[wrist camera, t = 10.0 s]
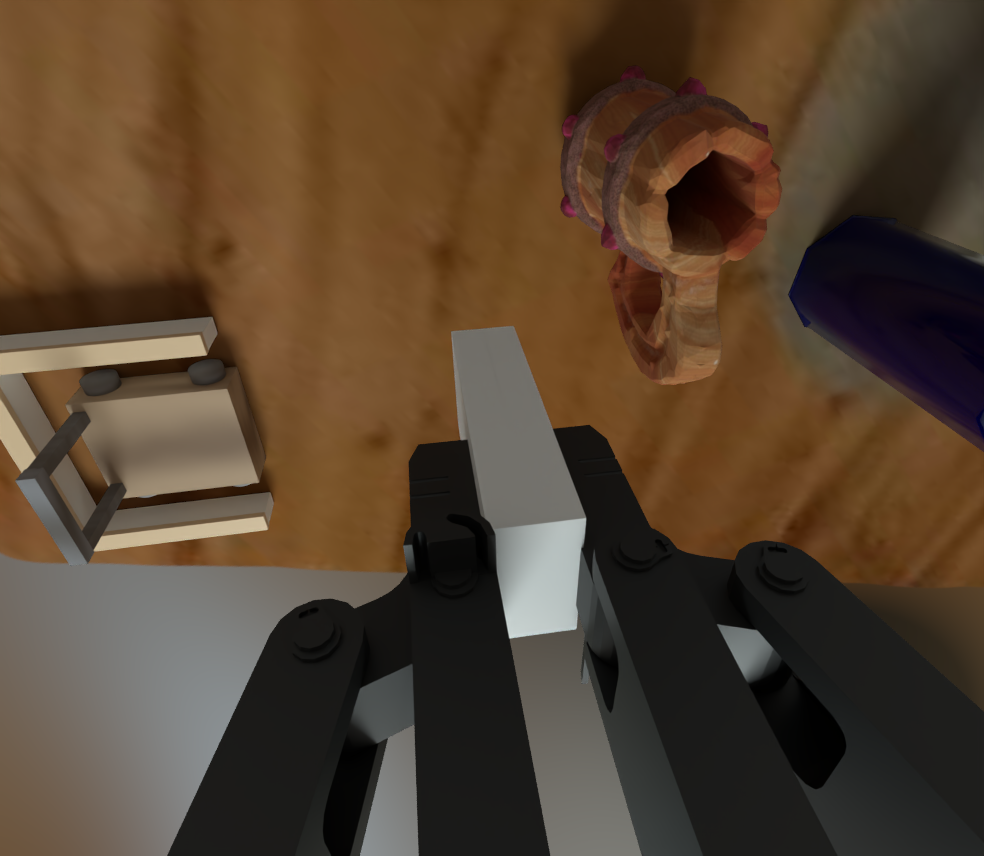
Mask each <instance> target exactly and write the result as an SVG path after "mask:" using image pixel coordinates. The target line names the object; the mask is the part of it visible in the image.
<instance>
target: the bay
mask: <svg viewBox="0 0 984 856" xmlns="http://www.w3.org/2000/svg"><path fill="white" fill-rule="evenodd" d="M217 334H218V332H217V329H216V326H215V323H214V320H213V317H205V318H193V319H182V320H171V321H160V322H149V323H137V324H126V325H115V326H104V327H93V328H81V329H70V330H59V331H48V332H37V333H25V334H14V335H3V336H0V439H1V441H2V442H3V444H4V446H5V447H6V449H7V450H8V452H9V454H10V455H11V457H12V458H13V460H14V461H15V463H16V465H17V466H18V468H19V469H20V471H21V472H23V471H24V470H25V469H27V468H28V467H29V466H30V464H31V463H32V462H33V461H34V459H35V458H36V457H37V456H38V454H39V453H40V452H41V451H42V450H43V448H44V447H45V446H46V445H47V443H48V442H49V441H50V440H51V439H52V437H53V436H54V435H55V434H56V433H55V431H54V429H53V428H52V426H51V424H50V422H49V420H48V419H47V417H46V415H45V413H44V412H43V410H42V408H41V406H40V404H39V403H38V401H37V399H36V397H35V396H34V394H33V392H32V390H31V388H30V387H29V385H28V383H27V381H26V380H25V378H24V376H23V374H22V373H27V372H37V371H48V370H58V369H69V368H79V367H90V366H100V365H111V364H121V363H132V362H142V361H153V360H163V359H173V358H184V357H194V356H205V355H207V354H208V353H209V348H210V347H211V345H212V343H213V341H214V339H215V338H216V336H217ZM50 479H51V481H52V482H53V484H54V486H55V487H56V489H57V491H58V492H59V494H60V496H61V497H62V499H63V501H64V502H65V504H66V506H67V507H68V509H69V511H70V512H71V514H72V516H73V517H74V519H75V520H76V522H77V524H78V525H79V527H80V529H81V530H83V528H84V527H85V525H86V524H87V522H88V520H89V519H90V517H91V515H92V514H93V512H94V510H95V509H96V507H97V506H96V504H95V502H94V500H93V499H92V497H91V495H90V493H89V491H88V490H87V488H86V486H85V484H84V483H83V481H82V479H81V477H80V475H79V474H78V472H77V470H76V468H75V467H74V465H73V463H72V461H71V459H70V458H69V456H68V454H66V456H65V457H64V458H63V460H62V461H61V462H60V464H59V465H58V466H57V468H56V469H55V470H54V472H53V473H52V474H51V475H50ZM273 505H274V502H273V499H272V496H271V493H270V492H266V493H257V494H249V495H241V496H232V497H224V498H215V499H207V500H199V501H190V502H182V503H173V504H165V505H156V506H148V507H140V508H131V509H123V510H116V512H115V513H114V515H113V517H112V519H111V520H110V522H109V524H108V526H107V528H106V529H105V531H104V533H103V535H102V536H101V538H100V540H99V542H98V544H97V545H96V547H95V549H94V551H102V550H110V549H118V548H126V547H134V546H142V545H150V544H158V543H166V542H174V541H182V540H190V539H198V538H206V537H214V536H222V535H230V534H238V533H246V532H254V531H262V530H268V528H269V522H270V517H271V513H272V509H273Z"/></svg>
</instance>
